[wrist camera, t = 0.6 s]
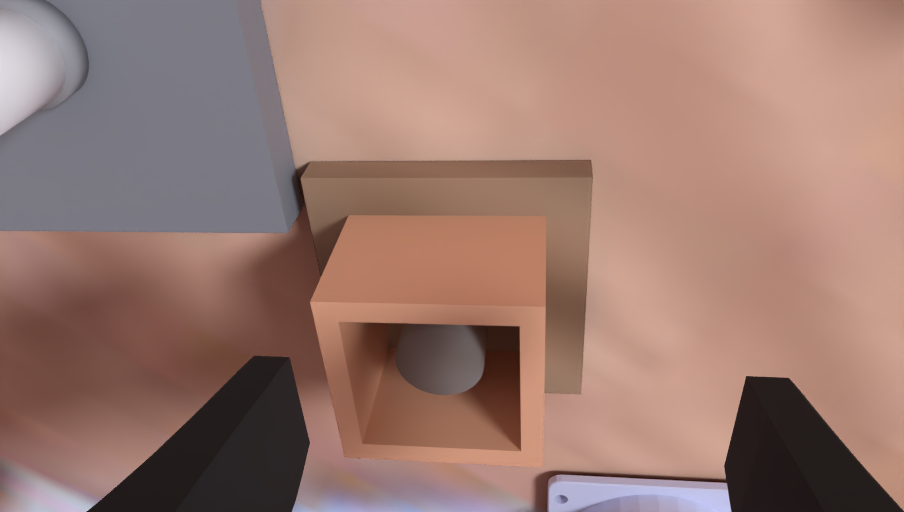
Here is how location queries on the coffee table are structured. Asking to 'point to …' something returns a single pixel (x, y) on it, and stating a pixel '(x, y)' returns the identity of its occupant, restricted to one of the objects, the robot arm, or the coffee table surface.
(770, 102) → the coffee table surface
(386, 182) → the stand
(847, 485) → the robot arm
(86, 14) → the square peg base
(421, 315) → the collar
